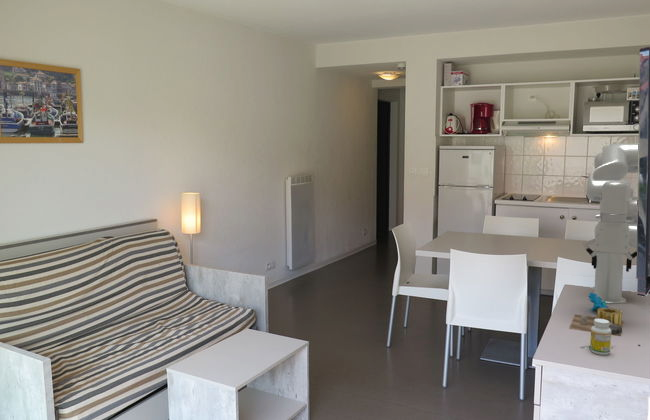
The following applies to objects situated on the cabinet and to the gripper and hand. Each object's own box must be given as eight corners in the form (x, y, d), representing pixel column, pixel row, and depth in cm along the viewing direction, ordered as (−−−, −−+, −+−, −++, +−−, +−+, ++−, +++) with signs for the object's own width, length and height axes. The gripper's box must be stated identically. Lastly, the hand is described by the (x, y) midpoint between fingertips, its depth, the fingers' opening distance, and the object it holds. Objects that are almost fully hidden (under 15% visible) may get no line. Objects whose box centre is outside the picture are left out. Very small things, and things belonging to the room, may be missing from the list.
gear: (607, 316, 186) (587, 292, 191) (593, 325, 189) (574, 301, 194) (617, 313, 194) (598, 290, 199) (604, 321, 197) (586, 299, 202)
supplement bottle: (607, 356, 155) (609, 324, 154) (587, 352, 158) (589, 321, 157) (612, 351, 159) (613, 320, 158) (592, 347, 162) (594, 316, 161)
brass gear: (592, 319, 184) (593, 307, 184) (613, 318, 185) (614, 307, 184) (604, 326, 177) (605, 314, 177) (626, 325, 177) (626, 314, 177)
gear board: (574, 317, 190) (575, 304, 189) (623, 324, 182) (623, 310, 182) (569, 332, 176) (569, 318, 175) (621, 339, 168) (621, 325, 167)
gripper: (583, 218, 178) (581, 268, 180) (643, 221, 169) (640, 274, 171) (585, 216, 184) (583, 264, 186) (643, 219, 175) (641, 270, 177)
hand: (610, 269), depth 178 cm, fingers open, 9 cm apart
